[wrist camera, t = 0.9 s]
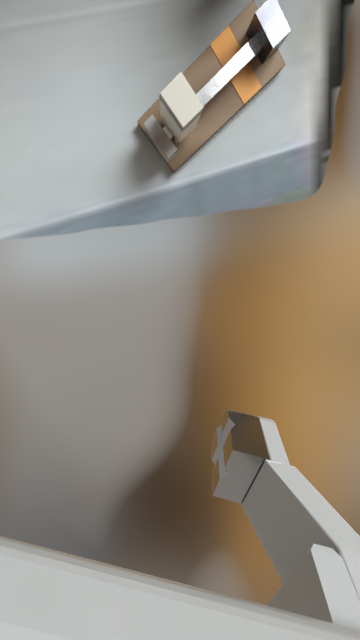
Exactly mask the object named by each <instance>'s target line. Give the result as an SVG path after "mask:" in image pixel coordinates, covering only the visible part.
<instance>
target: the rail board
mask: <svg viewBox="0 0 360 640" xmlns="http://www.w3.org/2000/svg"><path fill="white" fill-rule="evenodd" d="M257 10H258V8H257V6H256V4H255V2H254V0H253V1H252V2H251V3H250V4H249V5H248V6H247V7H246V8H245V9H244V10H243V11H242V12H241V13H240V14H239V15H238V16H237V17H236V18H235V19H234V20H233V21H232V22H231V24H230V25H229V26H227V27H226V28H225V29H224V31H223V32H222V33H221V34H220V35H219V36H218V37H217V38H216V39H215V40H214V41H213V42H212V43H211V44H210V46H209V47H208V48H207V49H206V50H205V51H204V52H203V53H202V54H201V55H200V56H199V57H198V58H197V59H196V60H195V61H194V62H193V63H192V64H191V65H190V66H189V67H188V69H187V70H186V71H185V72H184V73H183V75H184V77H185V78H186V80H187V81H188V83H189V85H190V86H191V88H192V89H193V91H194V93H195V94H197V93H198V92H199V91H200V90H201V89H202V88H203V87H204V86H205V85H206V84H207V83H208V82H209V81H210V80H211V79H212V78H213V77H214V76H215V75H216V74H217V73H218V72H219V71H220V70H221V69H222V68H223V67H224V66H225V65H226V64H227V63H228V62H229V61H230V60H231V59H232V58H233V57H234V56H235V55H236V54H237V53H238V52H239V51H240V50H241V49H242V47H243V46H244V45H245V44H246V43H247V42H248V41H249V39H248V37H247V35H246V32H247V29H248V27H249V25H250V23H251V21H252V19H253V16H254V14H255V12H256V11H257ZM285 65H286V64H285V62H284V60H283V58H282V56H281V54H280V52H279V50H277V51H276V52H275V53H274V54H273V55H272V56H271V57H270V58H268V59H267V60H266V61H265V62H264V63H263V64H261V62H260V60H259V58H258V56H256V57H255V58H254V59H253V60H252V61H251V62H250V63H249V64H248V65H247V66H246V67H245V68H244V69H243V70H242V71H241V72H240V73H239V74H238V75H237V76H236V77H235V78H234V79H233V80H232V81H231V82H230V83H229V84H228V85H227V86H226V87H225V88H224V89H223V90H222V91H221V92H220V93H219V94H218V95H217V96H216V97H215V98H214V99H213V100H212V101H211V102H210V103H209V104H208V105H207V106H206V107H205V108H204V109H203V112H202V113H201V115H200V118H199V120H198V123H197V126H196V127H195V128H194V129H193V130H192V131H191V132H190V133H189V134H188V135H187V136H186V137H185V138H184V139H183V140H182V141H181V142H180V143H179V142H177V143H176V142H175V138H174V139H173V140H172V141H171V140H170V138H169V137H168V135H167V134H166V133H165V131H164V130H163V128H164V127H165V126H166V125H165V126H164V125H163V119H162V118H161V116H160V98H159V99H158V100H157V101H156V102H155V103H154V104H153V105H152V106H151V107H150V108H149V109H148V110H147V111H146V112H145V114H144V115H143V116H142V117H141V118H140V119H139V120H138V121H137V122H138V125H139V126H140V128H141V129H142V130H143V132H144V133H145V135H146V136H147V137H148V139H149V140H150V141H151V143H152V144H153V145H154V147H155V148H156V149H157V151H158V152H159V154H160V155H161V156H162V158H163V159H164V160H165V162H166V163H167V164H168V166H169V167H170V168H171V170H172V171H173V173H174V172H175V171H176V170H177V169H179V168H180V167H181V166H182V165H183V164H184V163H185V162H186V161H187V160H188V159H189V158H190V157H191V156H192V155H193V154H194V153H195V152H196V151H197V150H198V149H199V148H200V147H201V146H203V145H204V144H205V143H206V142H207V141H208V140H209V139H210V138H211V137H212V136H213V135H214V134H215V133H216V132H217V131H218V130H219V129H220V128H221V127H222V126H223V125H224V124H225V123H226V122H228V121H229V120H230V119H231V118H232V117H233V116H234V115H235V114H236V113H237V112H238V111H239V110H240V109H241V108H242V107H243V106H244V105H245V104H246V103H247V102H248V101H249V100H250V99H251V98H253V97H254V96H255V95H256V94H257V93H258V92H259V91H260V90H261V89H262V88H263V87H264V86H265V85H266V84H267V83H268V82H269V81H270V80H271V79H272V78H273V77H274V76H275V75H277V74H278V73H279V72H280V71H281V70H282V68H283V67H284V66H285Z"/></svg>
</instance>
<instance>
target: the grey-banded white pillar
mask: <svg viewBox="0 0 360 640" xmlns="http://www.w3.org/2000/svg"><path fill="white" fill-rule="evenodd" d="M203 108H204V107H203V105H202V104H201V102H200V100H199V99H198V97H197V96H196V94H195V93H194V91H193V89H192V88H191V86H190V85H189V83H188V81H187V80H186V78H185V77H184V75H183V74H182V72H180V73H179V74H178V75H177V76H176V77H175V78H174V79H173V80H172V81H171V82H170V83H169V84H168V85H167V87H166V88H165V89H164V90H163V91H162V92H161V93H160V116H161V118H162V119H163V125H164V126H165V125H167V126H168V128H169V129H170V131H171V132H172V133H173V135H174V136H175V142H176V143H177V142H179V143H180V142H181V141H182V140H183V139H184V138H185V137H186V136H187V135H188V134H189V133H190V132H191V131H192V130H193V129H194V128H195V127H196V126H197V123H198V120H199V118H200V115H201V113H202V112H203Z"/></svg>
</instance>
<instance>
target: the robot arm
mask: <svg viewBox="0 0 360 640" xmlns="http://www.w3.org/2000/svg"><path fill="white" fill-rule="evenodd" d="M221 425H222V426H220V427H219V428H217V430H216V433H215V435H214V440H213V444H212V461H213V462H214V464H215V468H214V470H213V472H212V487H213V496H216V497H220V498H223V499H227V500H230V501H234V502H237V503H241V504H242V505H241V506H242V508H243V509H244V511H245V513H246V515H247V517H248V519H249V521H250V523H251V524H252V526H253V528H254V530H255V532H256V534H257V536H258V538H259V540H260V541H261V543H262V545H263V547H264V549H265V551H266V553H267V555H268V556H269V558H270V560H271V562H272V564H273V566H274V568H275V570H276V571H277V573H278V575H279V577H280V579H281V581H282V583H283V585H282V586H281V587H280V589H279V590H278V591H277V593H276V594H275V595H274V597H273V598H272V599H271V601H270V602H269V603H268V605H267V606H266V605H263V604H259V603H255V602H251V601H247V600H244V599H240V598H236V597H232V596H228V595H224V594H221V593H217V592H213V591H209V590H205V589H201V588H198V587H194V586H190V585H186V584H182V583H179V582H175V581H171V580H167V579H163V578H159V577H156V576H152V575H148V574H144V573H140V572H137V571H133V570H129V569H125V568H121V567H117V566H113V565H110V564H106V563H102V562H99V561H94V560H91V559H87V558H83V557H80V556H76V555H72V554H68V553H64V552H61V551H57V550H53V549H49V548H45V547H42V546H38V545H34V544H30V543H26V542H22V541H18V540H15V539H11V538H7V537H4V536H0V640H360V536H359V535H358V534H357V533H356V532H355V531H354V530H353V529H352V528H351V527H350V525H348V523H347V522H346V521H345V520H344V519H343V518H342V517H341V516H340V515H339V514H338V513H337V511H336V510H335V509H334V508H333V507H332V506H331V505H330V504H329V503H328V502H327V501H326V500H325V499H324V498H323V496H322V495H321V494H320V493H319V492H318V491H317V490H316V489H315V488H314V487H313V486H312V485H311V484H310V482H309V481H308V480H307V479H306V478H305V477H304V476H303V475H302V474H301V473H300V472H299V471H298V470H297V468H296V467H293V466H290V464H289V461H288V458H287V455H286V453H285V450H284V447H283V444H282V441H281V439H280V436H279V433H278V430H277V427H276V424H275V422H274V421H273V420H271V419H267V418H263V417H258V416H257V417H256V416H252V415H248V414H244V413H241V412H237V411H233V410H229V409H225V411H224V412H223V415H222V417H221Z"/></svg>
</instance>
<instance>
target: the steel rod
mask: <svg viewBox="0 0 360 640" xmlns="http://www.w3.org/2000/svg"><path fill="white" fill-rule="evenodd" d="M290 31H291V29H290V27H289V25H288V23H287V21H286V19H285V17H284V14H283V12H282V10H281V8H280V6H279V4H278V2H277V0H267V1H266V2H265V3H264V4H263V5H262V6H261V7H260V8H259V9H258V10H257V11H256V12H255V14H254V16H253V19H252V21H251V23H250V25H249V27H248V29H247V32H246V35H247V37H248V39H249V41H248V42H247V43H246V44H245V45H244V46H243V47H242V49H241V50H240V51H239V52H238V53H237V54H236V55H235V56H234V57H233V58H232V59H231V60H230V61H229V62H228V63H227V64H226V65H225V66H224V67H223V68H222V69H221V70H220V71H219V72H218V73H217V74H216V75H215V76H214V77H213V78H212V79H211V80H210V81H209V82H208V83H207V84H206V85H205V86H204V87H203V88H202V89H201V90H200V91H199V92H198V93H197V94H196V96H197V97H198V99H199V100H200V102H201V104H202V105H203V107H204V108H205V107H206V106H207V105H208V104H209V103H210V102H211V101H212V100H213V99H214V98H215V97H216V96H217V95H218V94H219V93H220V92H221V91H222V90H223V89H224V88H225V87H226V86H227V85H228V84H229V83H230V82H231V81H232V80H233V79H234V78H235V77H236V76H237V75H238V74H239V73H240V72H241V71H242V70H243V69H244V68H245V67H246V66H247V65H248V64H249V63H250V62H251V61H252V60H253V59H254V58H255V57H256V56H258V58H259V60H260V62H261V64H263V63H264V62H265V61H266V60H267V59H268V58H270V57H271V56H272V55H273V54H274V53H275V52H276V51H277V50H278V48H279V47H280V46H281V44H282V43H283V41H284V40H285V38H286V37H287V36H288V34H289V33H290ZM204 108H203V109H204ZM163 130H164V131H165V133H166V134H167V135H168V137H169V138H170V140H171V141H172V140H173V139H174V138H175V136H174V135H173V133H172V132H171V131H170V129H169V128H168V126H167V125H166V126H165V127H164V128H163Z"/></svg>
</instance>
